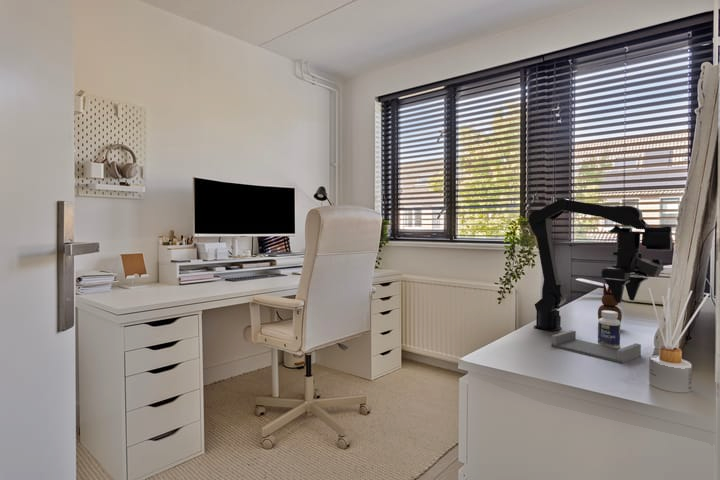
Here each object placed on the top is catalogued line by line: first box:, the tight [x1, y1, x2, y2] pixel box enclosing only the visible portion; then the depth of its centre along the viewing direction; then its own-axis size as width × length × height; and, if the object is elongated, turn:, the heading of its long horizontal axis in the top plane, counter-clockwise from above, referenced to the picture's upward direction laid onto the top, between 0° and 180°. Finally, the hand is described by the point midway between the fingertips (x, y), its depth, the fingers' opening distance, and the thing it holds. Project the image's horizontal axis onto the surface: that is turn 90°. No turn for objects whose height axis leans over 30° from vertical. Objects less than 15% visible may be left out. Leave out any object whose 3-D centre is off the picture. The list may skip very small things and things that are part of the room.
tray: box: [550, 329, 642, 364], centre depth 110 cm, size 18×11×3 cm, turn 35°
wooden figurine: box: [597, 282, 623, 323], centre depth 137 cm, size 7×6×15 cm
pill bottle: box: [597, 310, 622, 349], centre depth 115 cm, size 5×5×10 cm
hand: (625, 301), depth 120 cm, fingers open, 8 cm apart
